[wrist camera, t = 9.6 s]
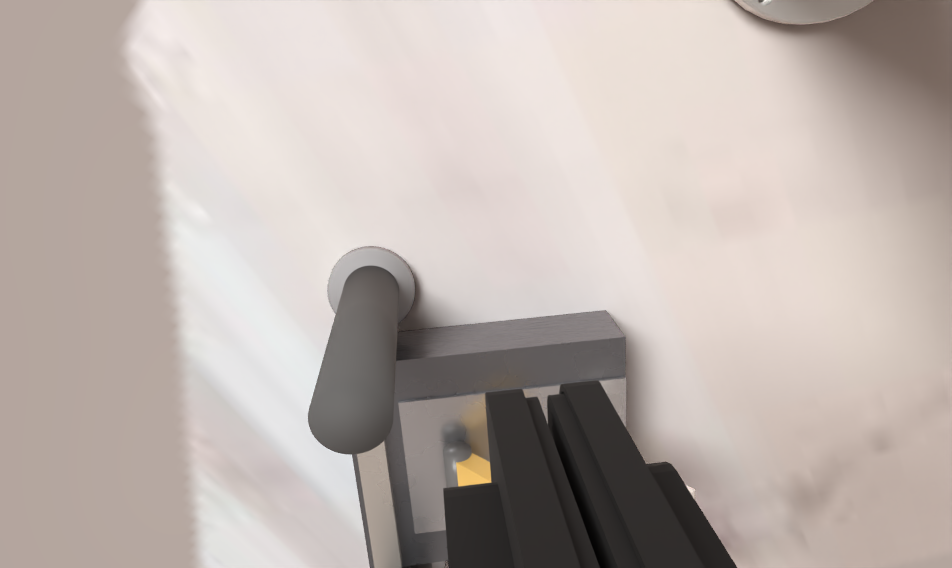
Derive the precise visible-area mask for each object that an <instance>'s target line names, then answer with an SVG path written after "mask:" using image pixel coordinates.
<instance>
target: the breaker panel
mask: <svg viewBox="0 0 952 568" xmlns="http://www.w3.org/2000/svg"><path fill="white" fill-rule="evenodd" d="M593 380H598V381H599V382H600V383H601V385H602V387H603V388H604V390H605V392H606V394H607V396H608V397H609V399H610V401H611V403H612V404H613V406H614V408H615V410H616V411H617V413H618V415H619V417H620V419H621V420H622V422H623V424H624V426H625V427H626V377H625V336H624V334H623V333H622V331H621V330H620V329H619V327H618V326H617V325H616V323H615V322H614V321H613V319H612V318H611V317H610V315H609V314H608V313H607V311H606V310H605V311H595V312H585V313H576V314H566V315H556V316H547V317H537V318H527V319H517V320H508V321H498V322H488V323H479V324H469V325H459V326H449V327H440V328H430V329H420V330H411V331H401V332H397V351H396V372H395V393H394V414H393V424H392V428H391V431H390V433H389V435H388V436H387V438H386V439H385V440H384V441H383V442H382V443H381V444H380V445H379V446H377V447H376V448H374V449H372V450H370V451H367V452H364V453H360V454H352V457H353V463H354V470H355V476H356V482H357V488H358V495H359V501H360V507H361V514H362V520H363V526H364V533H365V539H366V545H367V552H368V558H369V564H370V568H402V566H410V565H418V564H426V563H434V562H442V561H448V551H447V537H446V524H445V510H444V495H443V488H447V487H446V478H445V468H444V458H443V448H444V447H445V446H446V445H447V444H449V443H451V442H456V441H461V442H466V443H468V444H469V445H470V446H471V452H472V453H473V454H475V455H477V456H479V457H481V458H483V459H485V460H487V461H489V462H490V457H489V444H488V431H487V418H486V405H485V392H493V391H502V390H511V389H520V388H521V389H522V390H523V392H524V395H525V398H528V397H538V399H539V401H540V404H541V407H542V410H543V412H544V415H545V418H546V421H547V423H548V414H547V397H548V395H555V394H559V390H560V385H561V384H566V383H575V382H584V381H593Z"/></svg>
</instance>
